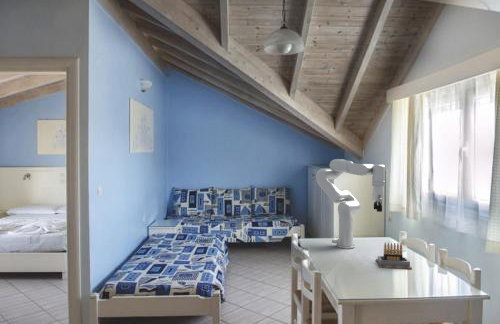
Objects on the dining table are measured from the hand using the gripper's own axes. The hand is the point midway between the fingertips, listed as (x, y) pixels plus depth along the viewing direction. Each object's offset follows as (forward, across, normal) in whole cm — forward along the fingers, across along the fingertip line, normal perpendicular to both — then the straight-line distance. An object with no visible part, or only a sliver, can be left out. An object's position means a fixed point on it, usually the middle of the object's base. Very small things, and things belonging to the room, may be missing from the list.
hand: (377, 210), depth 236 cm
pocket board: (+28, +22, +5) cm, 36 cm away
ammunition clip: (+28, +22, +5) cm, 35 cm away
